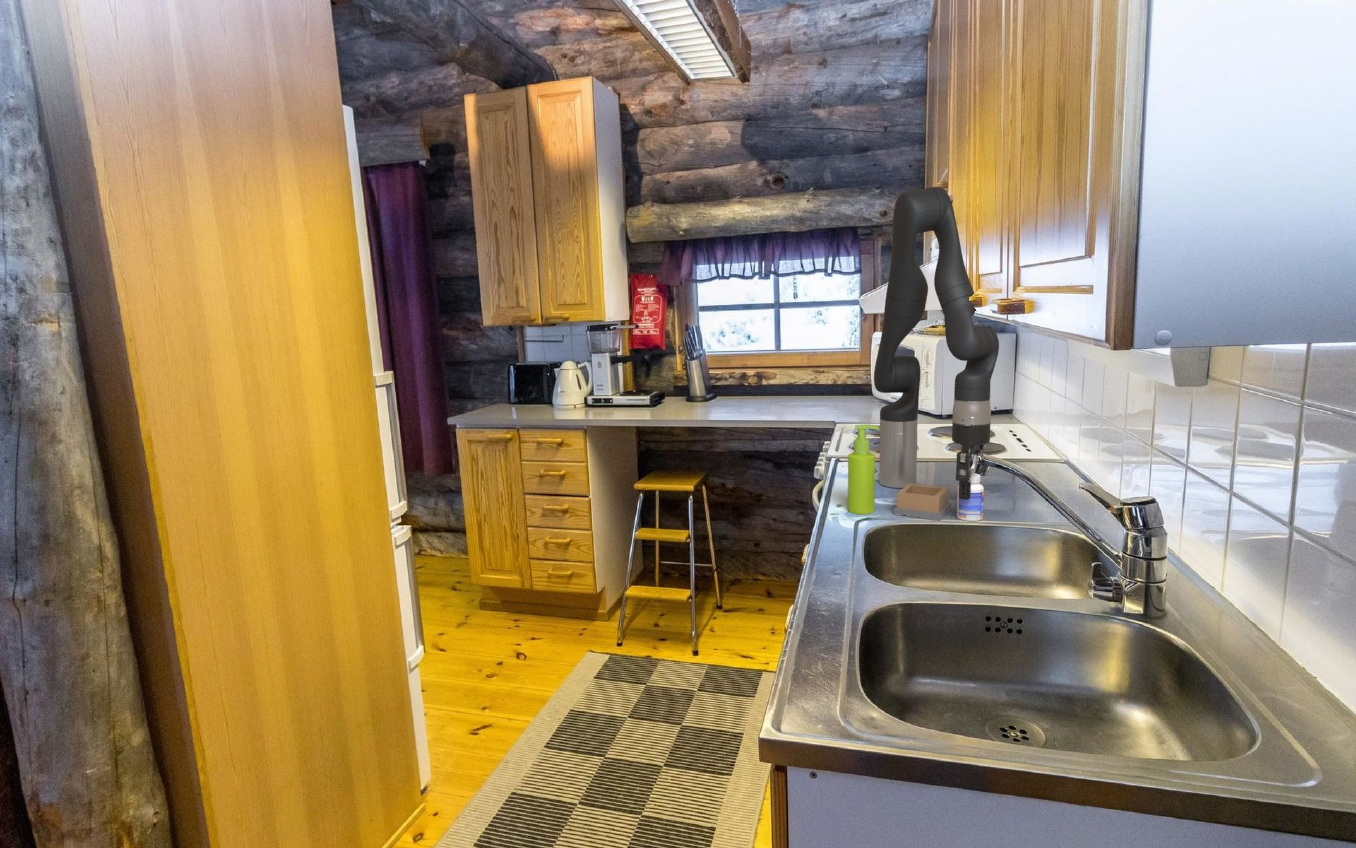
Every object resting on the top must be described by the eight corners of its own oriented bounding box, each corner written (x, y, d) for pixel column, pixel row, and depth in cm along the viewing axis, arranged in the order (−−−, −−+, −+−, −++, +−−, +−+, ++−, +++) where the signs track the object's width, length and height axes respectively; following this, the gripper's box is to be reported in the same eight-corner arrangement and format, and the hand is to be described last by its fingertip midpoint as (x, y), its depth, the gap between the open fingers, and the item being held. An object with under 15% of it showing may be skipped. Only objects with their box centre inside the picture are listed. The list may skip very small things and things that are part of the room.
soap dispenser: (880, 514, 157) (880, 427, 154) (848, 514, 159) (848, 427, 155) (878, 507, 163) (878, 422, 159) (847, 506, 164) (847, 423, 161)
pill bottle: (987, 521, 150) (989, 477, 148) (962, 522, 150) (963, 478, 148) (976, 513, 155) (977, 471, 153) (952, 514, 155) (953, 472, 153)
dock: (906, 503, 165) (907, 482, 164) (951, 508, 159) (951, 487, 158) (893, 514, 157) (894, 493, 156) (940, 521, 151) (940, 498, 150)
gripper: (960, 414, 156) (959, 485, 159) (944, 424, 145) (942, 500, 148) (997, 416, 152) (994, 488, 155) (982, 426, 141) (980, 504, 143)
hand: (969, 494), depth 151 cm, fingers open, 8 cm apart
